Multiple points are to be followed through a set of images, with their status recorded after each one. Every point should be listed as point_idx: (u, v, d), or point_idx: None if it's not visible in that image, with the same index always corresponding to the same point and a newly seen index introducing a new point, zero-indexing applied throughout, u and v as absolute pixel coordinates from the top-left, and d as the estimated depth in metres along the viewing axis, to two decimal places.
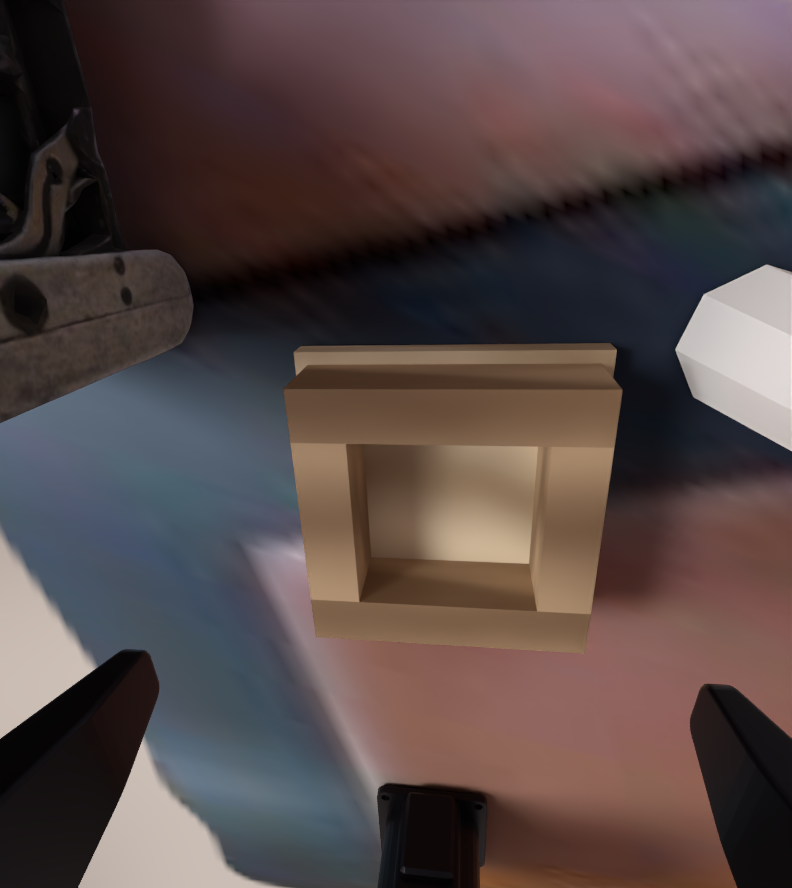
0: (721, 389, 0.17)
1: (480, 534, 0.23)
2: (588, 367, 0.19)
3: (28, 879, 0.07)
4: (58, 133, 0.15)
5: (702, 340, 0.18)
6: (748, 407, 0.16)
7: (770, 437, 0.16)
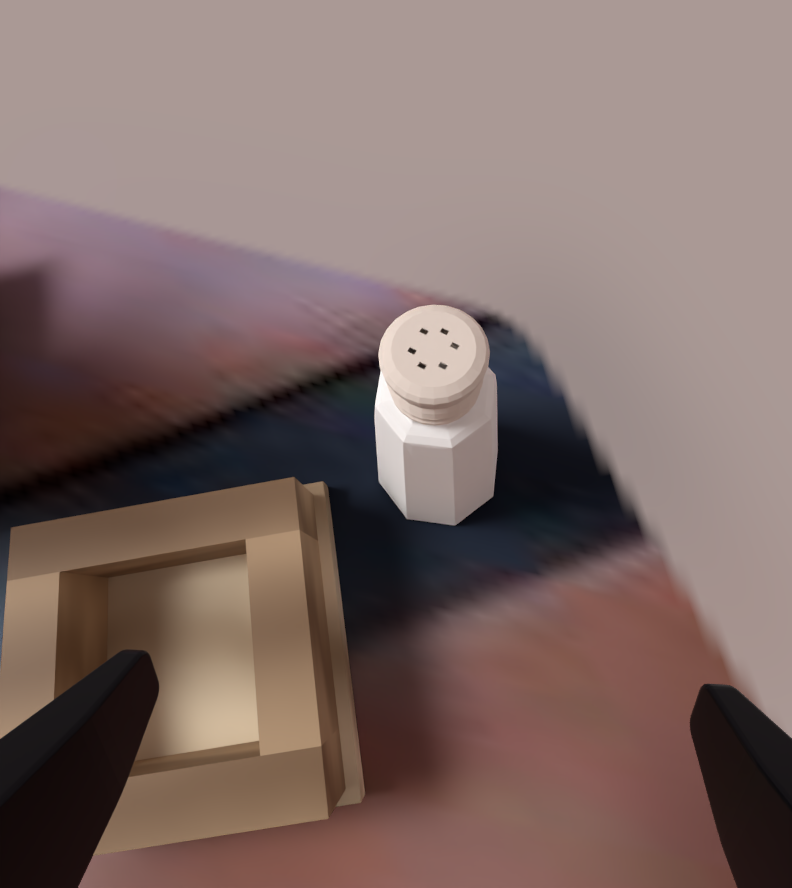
0: (388, 477, 0.21)
1: (228, 703, 0.20)
2: None
3: (28, 879, 0.07)
4: None
5: None
6: (390, 468, 0.19)
7: (403, 479, 0.18)
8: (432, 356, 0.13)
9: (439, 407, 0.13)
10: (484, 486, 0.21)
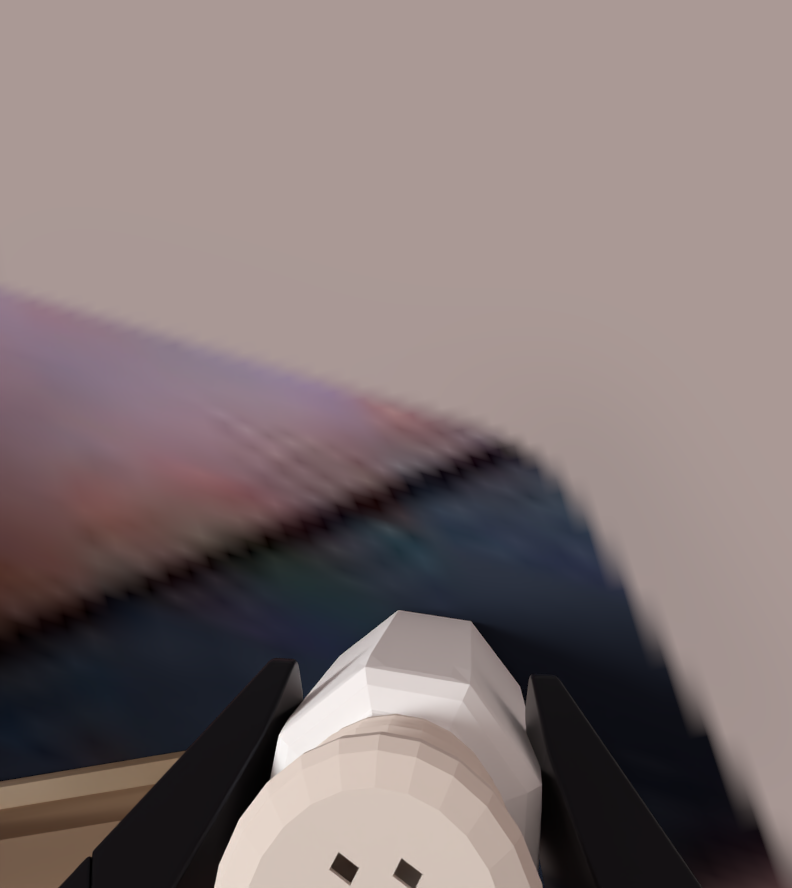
0: None
1: None
2: None
3: None
4: None
5: None
6: None
7: None
8: None
9: None
10: None
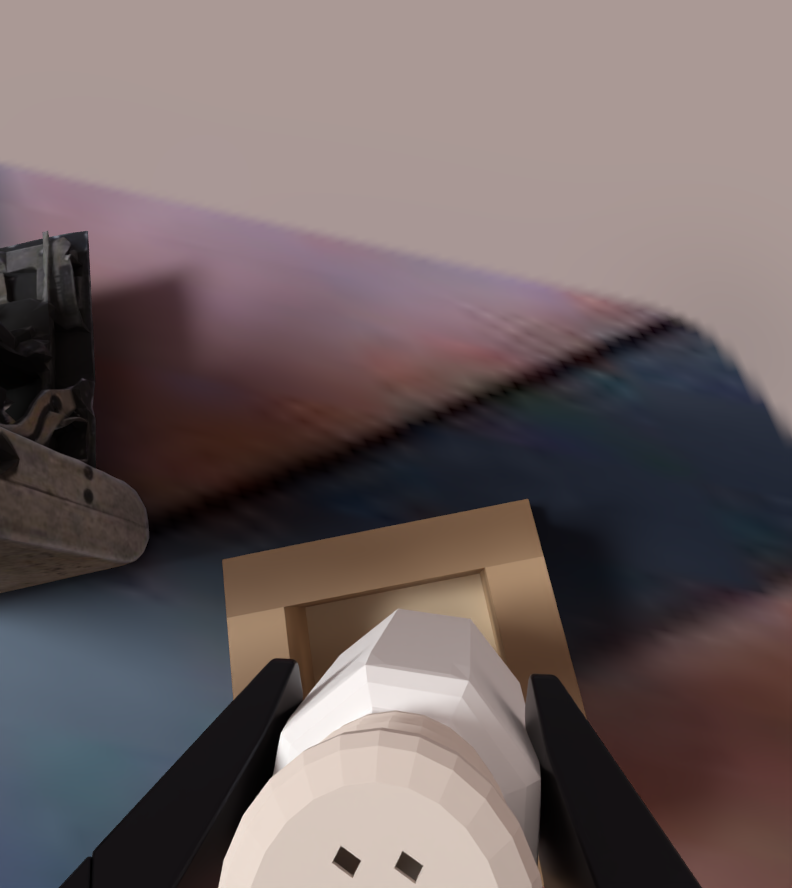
0: None
1: None
2: None
3: None
4: (66, 388, 0.21)
5: None
6: None
7: None
8: None
9: None
10: None
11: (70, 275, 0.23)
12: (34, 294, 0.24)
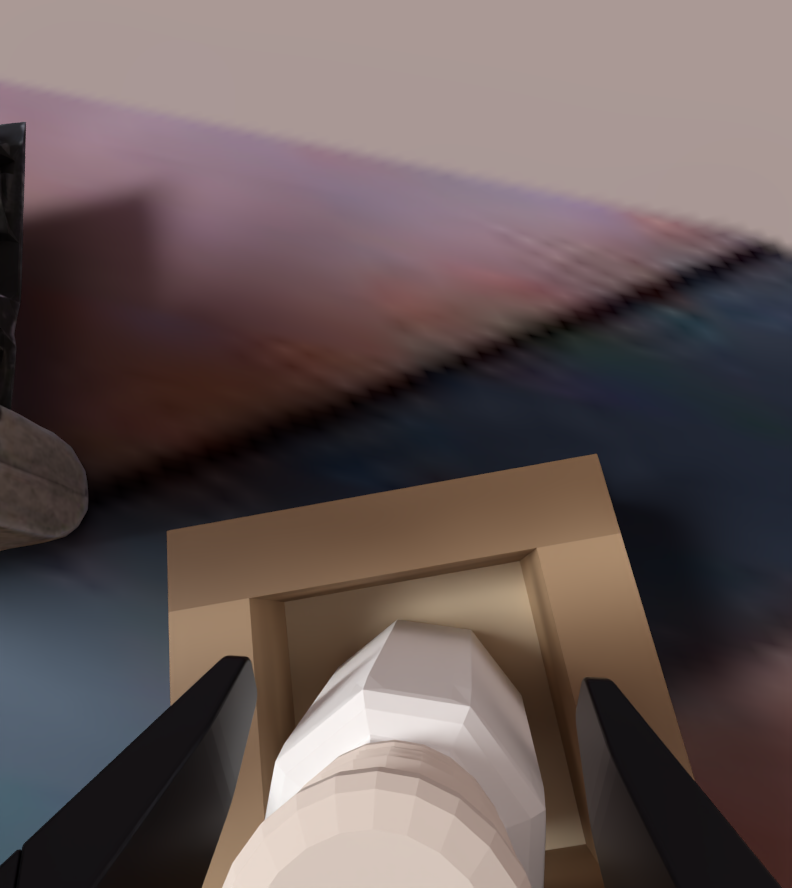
0: None
1: None
2: None
3: None
4: None
5: None
6: None
7: None
8: None
9: None
10: None
11: None
12: None
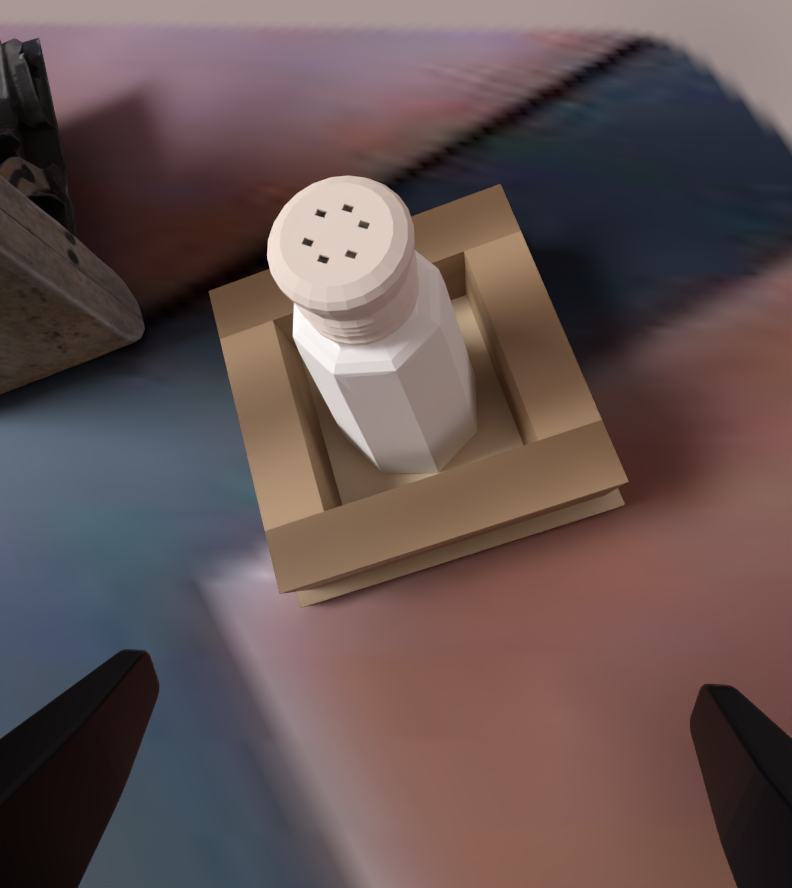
0: (346, 427, 0.17)
1: None
2: None
3: (28, 879, 0.07)
4: (37, 168, 0.21)
5: None
6: (342, 416, 0.16)
7: (356, 425, 0.15)
8: (335, 244, 0.10)
9: (357, 313, 0.10)
10: (461, 420, 0.17)
11: (27, 72, 0.23)
12: None
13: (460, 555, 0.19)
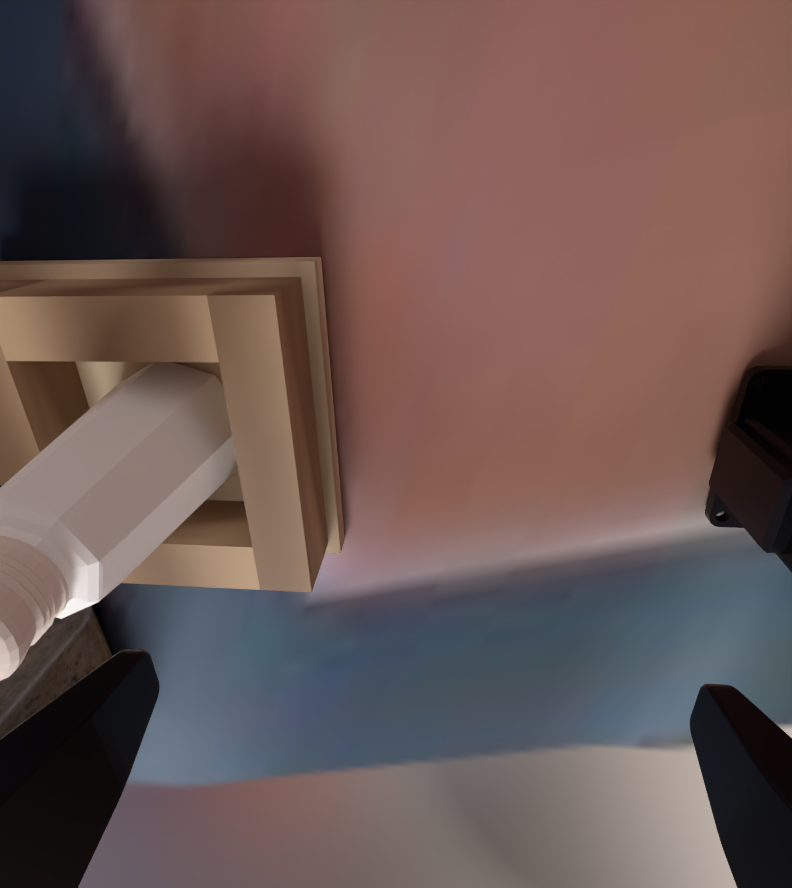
0: None
1: None
2: None
3: (27, 879, 0.07)
4: None
5: None
6: None
7: (169, 533, 0.17)
8: None
9: (24, 633, 0.11)
10: (190, 414, 0.18)
11: None
12: None
13: (327, 424, 0.20)
